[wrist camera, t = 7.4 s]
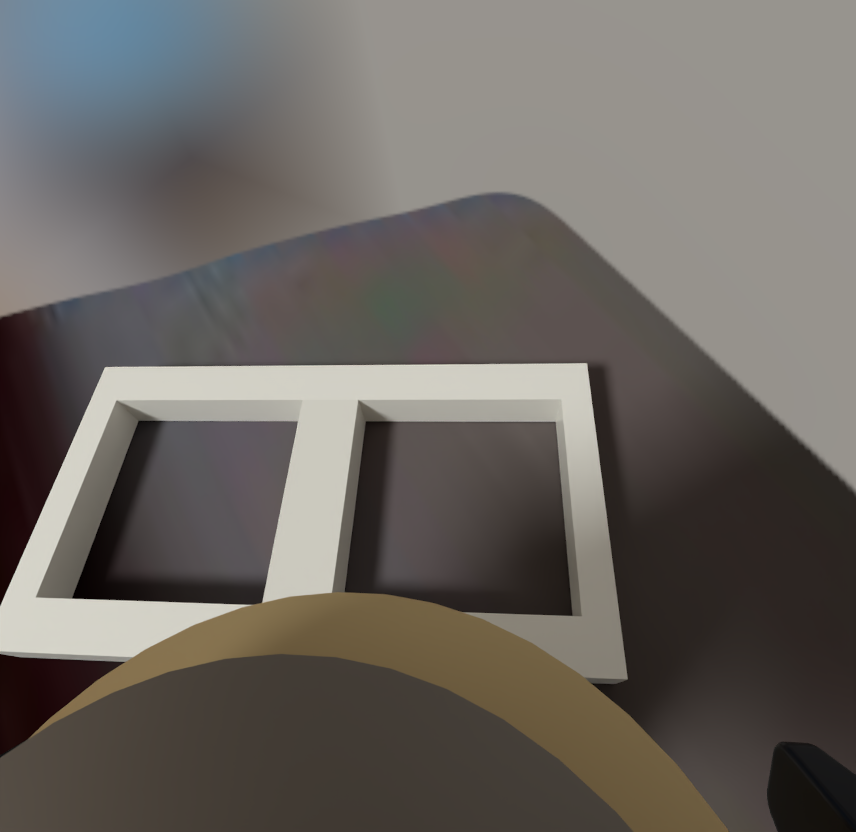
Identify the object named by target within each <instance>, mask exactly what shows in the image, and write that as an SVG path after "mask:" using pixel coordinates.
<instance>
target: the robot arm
mask: <svg viewBox="0 0 856 832" xmlns="http://www.w3.org/2000/svg"><path fill="white" fill-rule="evenodd" d="M27 740H28V739H27ZM24 742H25V741H24ZM22 743H23V742H22ZM22 743H21V744H22ZM19 745H20V744H19ZM19 745H17V746H19ZM17 746H15V747H14V748H16V747H17ZM14 748H12V749H10V750H9V751H7V752H5V753H3V754H2V755H0V758H1V757H2V756H4V755H5V754H7V753H8V752H10V751H11V750H13V749H14ZM767 800H768V806H769V809H770V813H771V816H772V818H773V821H774V824H775V826H776V829H777V831H778V832H856V775H855V774H854V773H852V772H851V771H850V770H848V769H847V768H846V767H844V766H843V765H841V764H840V763H839V762H837V761H836V760H835V759H833V758H832V757H831V756H829V755H828V754H827V753H825V752H824V751H822V750H821V749H820V748H818V747H816V746H815V745H812V744H809V743H796V742H780V743H778V744H777V745H776V746H775V749H774V752H773V758H772V764H771V770H770V776H769V782H768V788H767Z"/></svg>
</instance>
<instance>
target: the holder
mask: <svg viewBox="0 0 856 832" xmlns="http://www.w3.org/2000/svg"><path fill="white" fill-rule="evenodd" d="M138 421H298V426H297V431H296V436H295V441H294V446H293V451H292V456H291V461H290V466H289V471H288V476H287V481H286V486H285V491H284V496H283V501H282V506H281V511H280V516H279V521H278V526H277V531H276V536H275V541H274V546H273V551H272V556H271V561H270V566H269V571H268V576H267V581H266V586H265V592H264V597H263V602H262V603H264V602H268V601H273V600H277V599H281V598H286V597H291V596H302V595H312V594H323V593H334V592H345V584H346V576H347V568H348V560H349V552H350V544H351V536H352V528H353V520H354V512H355V504H356V496H357V488H358V480H359V472H360V464H361V456H362V447H363V439H364V431H365V423H366V421H458V422H556V430H557V442H558V453H559V465H560V476H561V488H562V500H563V511H564V523H565V534H566V546H567V558H568V569H569V581H570V593H571V604H572V616H555V615H526V614H497V613H469V612H463V613H466V614H469V615H472V616H475V617H478V618H481V619H484V620H486V621H488V622H490V623H492V624H494V625H496V626H498V627H500V628H502V629H504V630H506V631H508V632H510V633H513V634H515V635H517V636H519V637H521V638H523V639H525V640H527V641H529V642H531V643H533V644H534V645H536V646H537V647H539V648H540V649H542V650H544V651H545V652H547V653H548V654H550V655H551V656H553V657H554V658H556V659H557V660H559V661H560V662H562V663H564V664H565V665H567V666H568V667H570V668H571V669H573V670H574V671H576V672H577V673H579V674H580V675H582V676H583V677H584V678H585V679H586V680H588V681H589V682H590V683H599V684H617V683H619V682H622V681H625V680H627V679H628V677H627V670H626V662H625V654H624V646H623V639H622V631H621V623H620V615H619V608H618V600H617V592H616V584H615V577H614V569H613V561H612V553H611V546H610V538H609V530H608V522H607V515H606V507H605V499H604V491H603V484H602V476H601V468H600V460H599V453H598V445H597V437H596V429H595V422H594V414H593V406H592V398H591V391H590V383H589V375H588V367H587V363H573V364H445V365H316V366H188V367H105V369H104V371H103V374H102V376H101V378H100V380H99V383H98V385H97V387H96V389H95V392H94V394H93V396H92V399H91V401H90V403H89V405H88V408H87V410H86V412H85V415H84V417H83V419H82V421H81V424H80V426H79V428H78V430H77V433H76V435H75V437H74V440H73V442H72V444H71V446H70V449H69V451H68V453H67V456H66V458H65V460H64V462H63V465H62V467H61V469H60V472H59V474H58V476H57V478H56V481H55V483H54V485H53V487H52V490H51V492H50V494H49V497H48V499H47V501H46V503H45V506H44V508H43V510H42V513H41V515H40V517H39V519H38V522H37V524H36V526H35V528H34V531H33V533H32V535H31V538H30V540H29V542H28V544H27V547H26V549H25V551H24V554H23V556H22V558H21V560H20V563H19V565H18V567H17V569H16V572H15V574H14V576H13V579H12V581H11V583H10V585H9V588H8V590H7V592H6V595H5V597H4V599H3V601H2V604H1V606H0V654H5V655H11V656H16V657H30V658H52V659H74V660H96V661H118V662H127V661H128V660H130V659H131V658H133V657H134V656H136V655H137V654H139V653H140V652H142V651H144V650H145V649H147V648H149V647H151V646H153V645H155V644H157V643H159V642H161V641H163V640H165V639H167V638H169V637H171V636H173V635H175V634H177V633H179V632H181V631H183V630H185V629H187V628H189V627H191V626H193V625H195V624H198V623H201V622H203V621H206V620H209V619H212V618H214V617H217V616H220V615H223V614H225V613H228V612H231V611H234V610H236V609H239V608H242V607H246V606H251V605H238V604H209V603H180V602H151V601H122V600H93V599H72V597H73V594H74V591H75V589H76V586H77V583H78V581H79V578H80V575H81V573H82V570H83V567H84V565H85V562H86V559H87V557H88V554H89V551H90V549H91V546H92V543H93V541H94V538H95V535H96V533H97V530H98V527H99V525H100V522H101V520H102V517H103V514H104V512H105V509H106V506H107V504H108V501H109V498H110V496H111V493H112V490H113V488H114V485H115V482H116V480H117V477H118V474H119V472H120V469H121V466H122V464H123V461H124V458H125V456H126V453H127V450H128V448H129V445H130V442H131V440H132V437H133V434H134V432H135V429H136V426H137V424H138Z"/></svg>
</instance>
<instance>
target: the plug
mask: <svg viewBox="0 0 856 832" xmlns="http://www.w3.org/2000/svg"><path fill="white" fill-rule="evenodd" d="M0 832H729V831H728V829H727V828H726V827H725V825H724V824H723V823H722V821H721V820H720V819H719V818H718V816H717V815H716V814H715V813H714V811H713V810H712V809H711V807H710V806H709V805H708V804H707V802H706V801H705V800H704V798H703V797H702V796H701V795H700V793H699V792H698V791H697V789H696V788H695V787H694V786H693V784H692V783H691V782H690V781H689V779H688V778H687V777H686V775H685V774H684V773H683V772H682V770H681V769H680V768H679V766H678V765H677V764H676V763H675V762H674V761H673V760H672V759H671V758H670V757H669V756H668V755H667V754H666V753H665V752H664V751H663V750H662V749H661V748H660V747H659V746H658V745H657V743H656V742H655V741H654V740H653V739H652V738H651V737H650V736H649V735H648V734H647V733H646V732H645V731H644V730H643V729H642V728H641V727H640V726H639V725H638V724H637V723H636V722H635V721H634V720H633V719H632V717H631V716H630V715H628V714H627V713H626V712H625V711H624V710H622V709H621V708H620V707H619V706H618V705H616V704H615V703H614V702H613V701H612V700H610V699H609V698H608V697H607V696H606V695H604V694H603V693H602V692H601V691H600V690H598V689H597V688H596V687H595V686H594V685H592V684H591V683H590V682H589V681H588V680H586V679H585V678H584V677H583V676H582V675H580V674H579V673H577V672H576V671H574V670H573V669H571V668H570V667H568V666H567V665H565V664H564V663H562V662H560V661H559V660H557V659H556V658H554V657H553V656H551V655H550V654H548V653H547V652H545V651H544V650H542V649H540V648H539V647H537V646H536V645H534V644H533V643H531V642H529V641H527V640H525V639H523V638H521V637H519V636H517V635H515V634H513V633H510V632H508V631H506V630H504V629H502V628H500V627H498V626H496V625H494V624H492V623H490V622H488V621H486V620H484V619H481V618H478V617H475V616H472V615H469V614H466V613H463V612H460V611H457V610H454V609H451V608H448V607H444V606H441V605H438V604H435V603H431V602H425V601H420V600H414V599H409V598H404V597H398V596H393V595H387V594H368V593H346V592H334V593H323V594H312V595H302V596H291V597H286V598H281V599H277V600H273V601H268V602H264V603H259V604H255V605H251V606H246V607H242V608H239V609H236V610H234V611H231V612H228V613H225V614H223V615H220V616H217V617H214V618H212V619H209V620H206V621H203V622H201V623H198V624H195V625H193V626H191V627H189V628H187V629H185V630H183V631H181V632H179V633H177V634H175V635H173V636H171V637H169V638H167V639H165V640H163V641H161V642H159V643H157V644H155V645H153V646H151V647H149V648H147V649H145V650H144V651H142V652H140V653H139V654H137V655H136V656H134V657H133V658H131V659H130V660H128V661H127V662H125V663H124V664H122V665H120V666H119V667H117V668H116V669H114V670H113V671H111V672H110V673H108V674H107V675H105V676H103V677H102V678H100V679H99V680H97V681H96V682H95V683H94V684H92V685H91V686H90V687H89V688H87V689H86V690H85V691H84V692H82V693H81V694H80V695H79V696H77V697H76V698H75V699H74V700H72V701H71V702H70V703H69V704H67V705H66V706H65V707H64V708H62V709H61V710H60V711H59V712H57V713H56V714H55V715H54V716H52V717H51V718H50V719H49V720H48V721H47V722H46V723H44V724H43V725H42V726H41V727H40V728H39V729H38V730H37V731H36V732H35V733H34V734H33V735H32V736H31V737H30V738H29V739H28V740H26V741H25V742H23V743H22V744H20V745H19V746H17V747H16V748H14V749H13V750H11V751H10V752H8V753H7V754H5V755H4V756H2V757H1V758H0Z"/></svg>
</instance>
